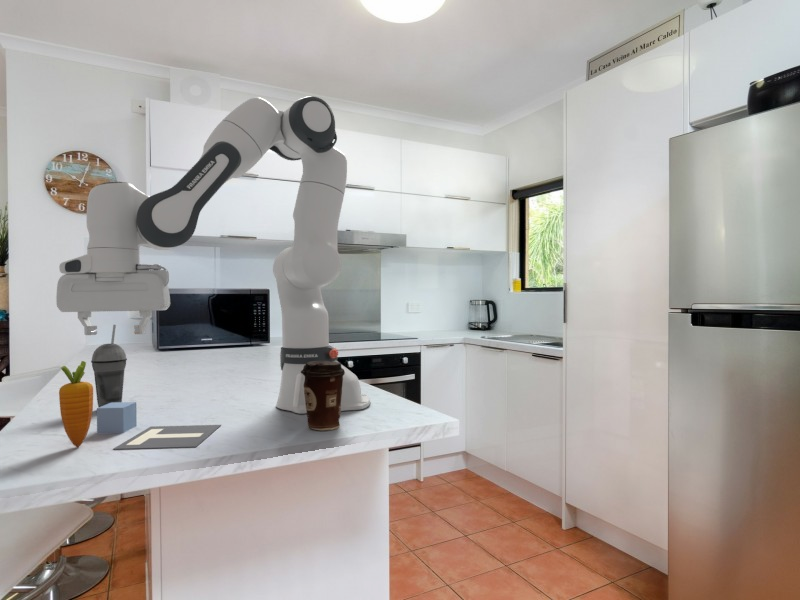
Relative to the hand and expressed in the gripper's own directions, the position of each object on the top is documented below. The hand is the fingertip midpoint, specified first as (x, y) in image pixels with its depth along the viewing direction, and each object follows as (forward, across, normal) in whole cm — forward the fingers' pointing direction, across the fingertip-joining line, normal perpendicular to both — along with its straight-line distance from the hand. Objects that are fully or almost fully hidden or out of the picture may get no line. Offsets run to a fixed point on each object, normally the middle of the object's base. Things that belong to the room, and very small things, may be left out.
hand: (115, 334), depth 93 cm
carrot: (+19, +2, +10) cm, 22 cm away
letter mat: (+19, -13, +6) cm, 24 cm away
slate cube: (+19, 0, 0) cm, 19 cm away
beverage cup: (+19, +11, -18) cm, 29 cm away
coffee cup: (+20, -41, +2) cm, 45 cm away
